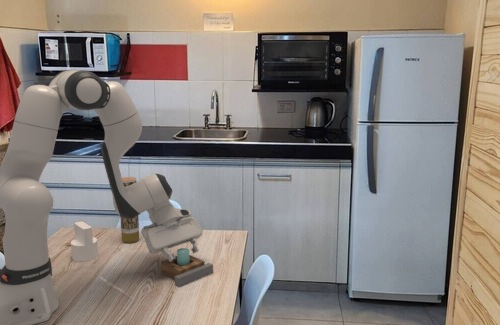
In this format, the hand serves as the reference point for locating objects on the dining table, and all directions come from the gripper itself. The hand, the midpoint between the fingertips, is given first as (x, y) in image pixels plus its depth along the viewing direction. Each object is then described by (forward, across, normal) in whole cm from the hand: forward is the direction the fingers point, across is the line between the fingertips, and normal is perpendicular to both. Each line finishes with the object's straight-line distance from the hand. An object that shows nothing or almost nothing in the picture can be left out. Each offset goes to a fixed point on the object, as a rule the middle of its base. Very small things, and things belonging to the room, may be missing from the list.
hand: (184, 256), depth 151 cm
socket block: (+4, 0, +5) cm, 6 cm away
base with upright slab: (-22, -15, +33) cm, 43 cm away
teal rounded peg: (+4, 0, +5) cm, 7 cm away
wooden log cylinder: (-24, +5, +35) cm, 42 cm away
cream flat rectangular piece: (+2, 0, +8) cm, 9 cm away
